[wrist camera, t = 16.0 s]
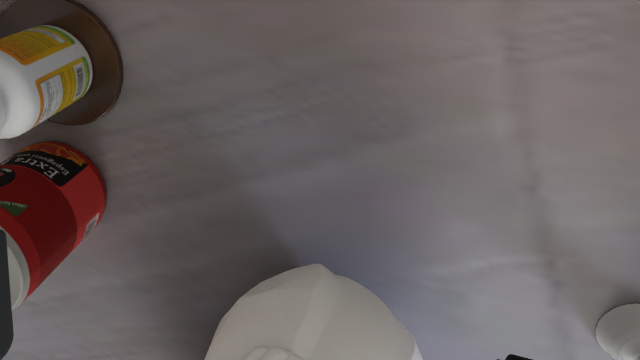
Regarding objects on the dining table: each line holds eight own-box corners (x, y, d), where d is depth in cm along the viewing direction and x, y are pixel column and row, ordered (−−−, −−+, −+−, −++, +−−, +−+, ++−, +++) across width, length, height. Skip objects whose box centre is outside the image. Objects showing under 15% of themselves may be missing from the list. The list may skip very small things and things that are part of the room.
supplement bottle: (4, 44, 40) (-111, 88, 31) (62, 9, 38) (-44, 44, 29) (52, 113, 41) (-44, 172, 33) (110, 82, 40) (24, 136, 31)
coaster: (-5, -20, 38) (-11, -19, 38) (125, 10, 38) (121, 12, 37) (3, 106, 42) (-2, 108, 42) (121, 135, 42) (117, 138, 41)
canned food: (95, 136, 42) (-1, 210, 33) (121, 231, 46) (40, 322, 36) (2, 138, 44) (-118, 210, 34) (33, 230, 47) (-67, 318, 37)
